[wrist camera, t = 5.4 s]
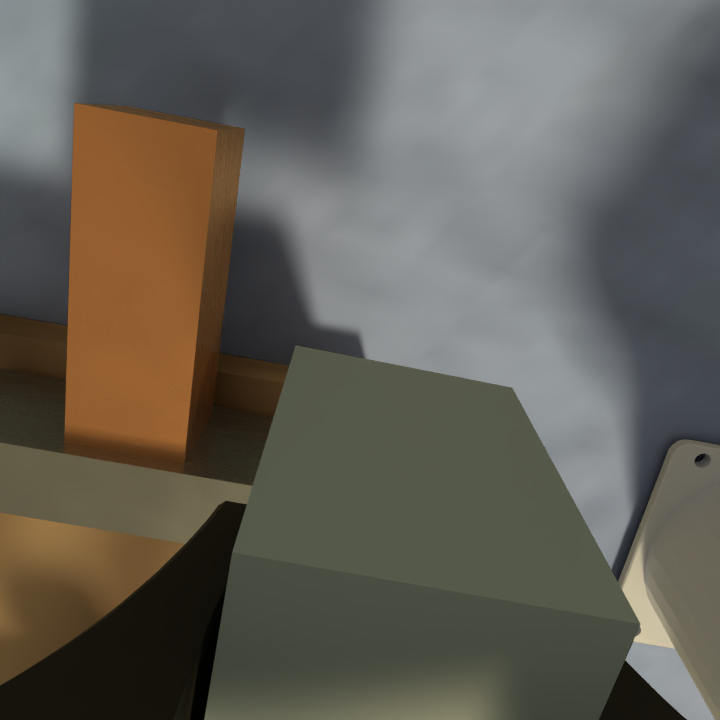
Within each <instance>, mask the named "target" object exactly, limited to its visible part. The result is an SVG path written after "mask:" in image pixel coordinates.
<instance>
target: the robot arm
mask: <svg viewBox="0 0 720 720" xmlns="http://www.w3.org/2000/svg"><path fill="white" fill-rule="evenodd" d="M700 454H705V457H704V458H703V460H701V461H699V462H694V461H695V458H696V457H697V456H698V455H700ZM246 506H247V504H242V503H237V502H231V501H224V502H223V503H221V504H220V505H218V506H217V508H216V509H215V510H214V512H213V513H212V514H211V516H210V517H209V518H208V519H207V520H206V522H205V523H204V524H203V525H202V526H201V527H200V528H199V530H198V531H197V532H196V533H195V534H194V535H193V536H192V537H191V538H190V539H189V540H188V542H187V543H186V544H185V545H184V546H183V547H182V548H181V549H180V550H179V551H178V552H177V553H176V554H175V555H174V556H173V557H172V558H171V559H170V560H169V561H168V562H166V563H165V564H164V565H163V566H162V567H161V568H160V569H159V570H158V571H157V572H156V573H155V574H154V575H153V576H152V577H151V578H149V579H148V580H147V581H146V582H145V583H144V584H142V585H141V586H140V587H139V588H138V589H137V590H136V591H134V592H133V593H132V594H131V595H130V596H129V597H127V598H126V599H125V600H124V601H123V602H122V603H120V604H119V605H118V606H117V607H115V608H114V609H113V610H112V611H110V612H109V613H108V614H107V615H105V616H104V617H103V618H101V619H100V620H99V621H97V622H96V623H95V624H93V625H92V626H91V627H89V628H88V629H86V630H85V631H84V632H82V633H81V634H80V635H78V636H77V637H75V638H74V639H73V640H71V641H70V642H68V643H67V644H65V645H64V646H62V647H61V648H59V649H58V650H56V651H54V652H53V653H51V654H50V655H48V656H47V657H45V658H44V659H42V660H41V661H39V662H38V663H36V664H34V665H33V666H31V667H30V668H28V669H27V670H25V671H23V672H22V673H20V674H18V675H17V676H15V677H13V678H12V679H10V680H8V681H7V682H5V683H3V684H1V685H0V720H204V718H205V713H206V707H207V701H208V695H209V689H210V683H211V677H212V671H213V665H214V659H215V653H216V647H217V641H218V635H219V629H220V623H221V617H222V611H223V605H224V599H225V593H226V587H227V581H228V575H229V569H230V563H231V557H232V552H233V548H234V545H235V542H236V538H237V535H238V532H239V529H240V525H241V522H242V519H243V516H244V512H245V509H246ZM618 583H619V585H620V587H621V589H622V591H623V592H624V594H625V596H626V598H627V600H628V602H629V603H630V605H631V607H632V609H633V611H634V613H635V614H636V616H637V618H638V620H639V622H640V624H641V625H640V627H639V629H638V632H637V634H636V636H635V638H634V641H633V642H639V643H645V644H651V645H657V646H663V647H669V648H675V649H676V651H677V653H678V655H679V656H680V658H681V660H682V662H683V663H684V665H685V667H686V669H687V671H688V672H689V674H690V676H691V678H692V680H693V681H694V683H695V685H696V687H697V688H698V690H699V692H700V694H701V696H702V697H703V699H704V701H705V703H706V705H707V706H708V708H709V710H710V712H711V714H712V715H713V717H714V719H715V720H720V445H716V444H710V443H705V442H699V441H694V440H680V441H677V442H675V443H674V444H673V445H671V447H670V449H669V450H668V453H667V455H666V458H665V460H664V463H663V466H662V468H661V471H660V473H659V476H658V479H657V481H656V484H655V486H654V489H653V492H652V494H651V497H650V500H649V502H648V505H647V507H646V510H645V513H644V515H643V518H642V520H641V523H640V526H639V528H638V531H637V533H636V536H635V539H634V541H633V544H632V546H631V549H630V552H629V554H628V557H627V560H626V562H625V565H624V567H623V570H622V573H621V575H620V578H619V580H618ZM599 720H686V719H685V718H684V717H683V716H682V715H681V714H680V713H678V712H677V711H676V710H675V709H674V708H673V707H672V706H671V705H670V704H669V703H668V702H667V701H666V700H664V699H663V698H662V697H661V696H660V695H659V694H658V693H657V692H656V691H655V690H654V689H653V688H652V687H651V686H650V685H649V684H648V683H647V682H646V681H645V680H644V679H643V678H642V677H641V676H640V675H639V674H638V673H637V672H636V671H635V670H634V669H633V668H632V667H631V666H630V665H629V664H628V663H627V662H626V661H624V663H623V666H622V668H621V670H620V673H619V675H618V677H617V679H616V682H615V684H614V686H613V688H612V691H611V693H610V695H609V698H608V700H607V702H606V704H605V707H604V709H603V711H602V713H601V716H600V718H599Z"/></svg>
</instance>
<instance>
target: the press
mask: <svg viewBox="0 0 720 720" xmlns="http://www.w3.org/2000/svg"><path fill="white" fill-rule="evenodd" d="M67 334H68V326H65V325H59V324H54V323H48V322H43V321H37V320H31V319H26V318H20V317H14V316H9V315H3V314H0V368H1V369H6V370H12V371H18V372H24V373H29V374H35V375H41V376H46V377H52V378H58V379H63V380H66V368H67ZM288 369H289V365H284V364H278V363H272V362H267V361H261V360H256V359H250V358H244V357H239V356H233V355H228V354H222V353H219V360H218V369H217V378H216V387H215V395H214V404H213V406H217V407H223V408H229V409H234V410H240V411H246V412H252V413H257V414H263V415H269V416H274V414H275V411H276V408H277V405H278V401H279V398H280V395H281V391H282V388H283V385H284V382H285V378H286V375H287V372H288ZM184 545H185V544H184V543H178V542H172V541H166V540H160V539H154V538H148V537H142V536H136V535H130V534H124V533H118V532H112V531H106V530H100V529H94V528H88V527H82V526H76V525H70V524H65V523H59V522H53V521H47V520H41V519H35V518H29V517H23V516H17V515H11V514H5V513H0V685H1V684H3V683H5V682H7V681H8V680H10V679H12V678H13V677H15V676H17V675H18V674H20V673H22V672H23V671H25V670H27V669H28V668H30V667H31V666H33V665H34V664H36V663H38V662H39V661H41V660H42V659H44V658H45V657H47V656H48V655H50V654H51V653H53V652H54V651H56V650H58V649H59V648H61V647H62V646H64V645H65V644H67V643H68V642H70V641H71V640H73V639H74V638H75V637H77V636H78V635H80V634H81V633H82V632H84V631H85V630H86V629H88V628H89V627H91V626H92V625H93V624H95V623H96V622H97V621H99V620H100V619H101V618H103V617H104V616H105V615H107V614H108V613H109V612H110V611H112V610H113V609H114V608H115V607H117V606H118V605H119V604H120V603H122V602H123V601H124V600H125V599H126V598H127V597H129V596H130V595H131V594H132V593H133V592H134V591H136V590H137V589H138V588H139V587H140V586H141V585H142V584H144V583H145V582H146V581H147V580H148V579H149V578H151V577H152V576H153V575H154V574H155V573H156V572H157V571H158V570H159V569H160V568H161V567H162V566H163V565H164V564H165V563H166V562H168V561H169V560H170V559H171V558H172V557H173V556H174V555H175V554H176V553H177V552H178V551H179V550H180V549H181V548H182V547H183V546H184Z"/></svg>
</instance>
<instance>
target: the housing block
mask: <svg viewBox="0 0 720 720" xmlns="http://www.w3.org/2000/svg"><path fill="white" fill-rule="evenodd" d="M640 625H641V624H640V622H639V620H638V618H637V616H636V614H635V613H634V611H633V609H632V607H631V605H630V603H629V602H628V600H627V598H626V596H625V594H624V592H623V591H622V589H621V587H620V585H619V583H618V581H617V580H616V578H615V576H614V574H613V572H612V570H611V569H610V567H609V565H608V563H607V561H606V559H605V558H604V556H603V554H602V552H601V550H600V548H599V547H598V545H597V543H596V541H595V539H594V537H593V536H592V534H591V532H590V530H589V528H588V526H587V524H586V523H585V521H584V519H583V517H582V515H581V513H580V512H579V510H578V508H577V506H576V504H575V502H574V501H573V499H572V497H571V495H570V493H569V491H568V490H567V488H566V486H565V484H564V482H563V480H562V479H561V477H560V475H559V473H558V471H557V469H556V468H555V466H554V464H553V462H552V460H551V458H550V457H549V455H548V453H547V451H546V449H545V447H544V446H543V444H542V442H541V440H540V438H539V436H538V435H537V433H536V431H535V429H534V427H533V425H532V424H531V422H530V420H529V418H528V416H527V414H526V412H525V411H524V409H523V407H522V405H521V403H520V401H519V400H518V398H517V396H516V394H515V392H514V390H513V389H512V388H511V387H506V386H501V385H495V384H490V383H485V382H480V381H475V380H470V379H465V378H460V377H455V376H450V375H445V374H440V373H434V372H429V371H424V370H419V369H414V368H409V367H404V366H399V365H394V364H389V363H384V362H379V361H373V360H368V359H363V358H358V357H353V356H348V355H343V354H338V353H333V352H328V351H323V350H318V349H312V348H307V347H302V346H297V345H296V346H295V349H294V352H293V356H292V359H291V362H290V365H289V369H288V372H287V375H286V378H285V382H284V385H283V388H282V391H281V395H280V398H279V401H278V405H277V408H276V411H275V414H274V418H273V421H272V424H271V427H270V431H269V434H268V437H267V440H266V444H265V447H264V450H263V454H262V457H261V460H260V463H259V467H258V470H257V473H256V476H255V480H254V483H253V486H252V489H251V493H250V496H249V499H248V503H247V506H246V509H245V512H244V516H243V519H242V522H241V525H240V529H239V532H238V535H237V538H236V542H235V545H234V548H233V552H232V557H231V563H230V569H229V575H228V581H227V587H226V593H225V599H224V605H223V611H222V617H221V623H220V629H219V635H218V641H217V647H216V653H215V659H214V665H213V671H212V677H211V683H210V689H209V695H208V701H207V707H206V713H205V718H204V720H599V718H600V716H601V713H602V711H603V709H604V707H605V704H606V702H607V700H608V698H609V695H610V693H611V691H612V688H613V686H614V684H615V682H616V679H617V677H618V675H619V673H620V670H621V668H622V666H623V663H624V661H625V659H626V657H627V654H628V652H629V650H630V648H631V645H632V643H633V641H634V638H635V636H636V634H637V632H638V629H639V627H640Z"/></svg>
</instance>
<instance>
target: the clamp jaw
mask: <svg viewBox="0 0 720 720" xmlns="http://www.w3.org/2000/svg"><path fill="white" fill-rule="evenodd" d="M244 132H245V129H244V128H239V127H234V126H229V125H223V124H218V123H213V122H208V121H203V120H197V119H192V118H187V117H182V116H176V115H171V114H166V113H161V112H155V111H150V110H145V109H140V108H134V107H129V106H118V105H100V104H82V103H74V131H73V165H72V199H71V233H70V266H69V300H68V334H67V368H66V380H63V379H58V378H52V377H46V376H41V375H35V374H29V373H24V372H18V371H12V370H6V369H1V368H0V513H5V514H11V515H17V516H23V517H29V518H35V519H41V520H47V521H53V522H59V523H65V524H70V525H76V526H82V527H88V528H94V529H100V530H106V531H112V532H118V533H124V534H130V535H136V536H142V537H148V538H154V539H160V540H166V541H172V542H178V543H184V544H186V543H187V542H188V540H189V539H190V538H191V537H192V536H193V535H194V534H195V533H196V532H197V531H198V530H199V528H200V527H201V526H202V525H203V524H204V523H205V522H206V520H207V519H208V518H209V517H210V516H211V514H212V513H213V512H214V510H215V509H216V508H217V506H218V505H220V504H221V503H223V502H224V501H231V502H237V503H242V504H247V503H248V499H249V496H250V493H251V489H252V486H253V483H254V480H255V476H256V473H257V470H258V467H259V463H260V460H261V457H262V454H263V450H264V447H265V444H266V440H267V437H268V434H269V431H270V427H271V424H272V421H273V418H274V416H269V415H263V414H257V413H252V412H246V411H240V410H234V409H229V408H223V407H217V406H213V404H214V395H215V387H216V378H217V369H218V360H219V351H220V343H221V334H222V325H223V316H224V308H225V299H226V290H227V281H228V273H229V264H230V255H231V246H232V237H233V229H234V220H235V211H236V202H237V194H238V185H239V176H240V167H241V158H242V150H243V141H244Z"/></svg>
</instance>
